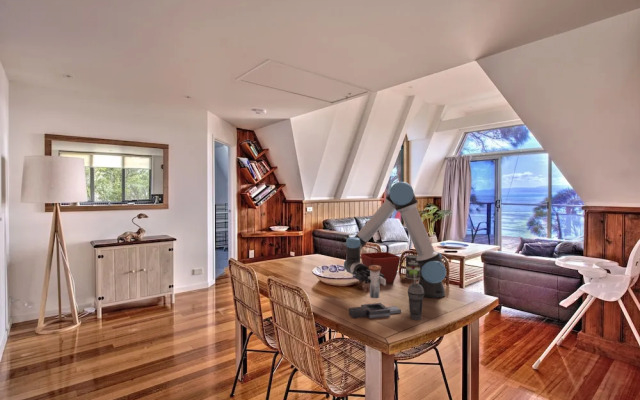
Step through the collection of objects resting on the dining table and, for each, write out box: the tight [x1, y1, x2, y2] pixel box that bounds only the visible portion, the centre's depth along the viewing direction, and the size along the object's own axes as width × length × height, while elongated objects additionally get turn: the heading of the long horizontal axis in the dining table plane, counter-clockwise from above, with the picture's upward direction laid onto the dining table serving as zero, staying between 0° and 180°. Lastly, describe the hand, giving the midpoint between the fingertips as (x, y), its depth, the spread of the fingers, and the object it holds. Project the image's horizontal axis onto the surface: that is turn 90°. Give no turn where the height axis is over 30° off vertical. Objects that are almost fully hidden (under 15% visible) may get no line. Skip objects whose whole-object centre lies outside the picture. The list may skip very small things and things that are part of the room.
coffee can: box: [405, 254, 420, 281], centre depth 220 cm, size 10×10×14 cm
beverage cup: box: [407, 273, 425, 321], centre depth 150 cm, size 7×7×20 cm
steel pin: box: [369, 265, 381, 299], centre depth 155 cm, size 6×6×14 cm
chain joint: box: [348, 302, 402, 319], centre depth 156 cm, size 24×10×3 cm, turn 106°
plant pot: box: [360, 251, 401, 285], centre depth 211 cm, size 19×19×17 cm
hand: (379, 282), depth 150 cm, fingers closed on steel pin, 4 cm apart
